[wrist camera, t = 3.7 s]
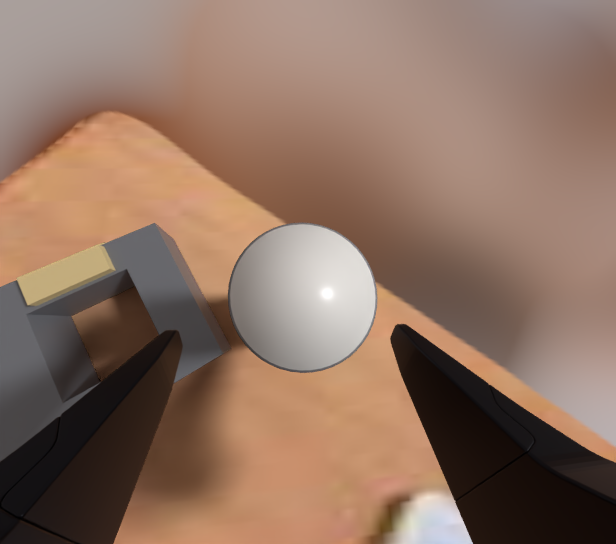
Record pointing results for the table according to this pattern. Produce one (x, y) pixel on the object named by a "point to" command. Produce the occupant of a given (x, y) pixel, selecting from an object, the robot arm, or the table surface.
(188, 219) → the table surface
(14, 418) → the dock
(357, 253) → the white dome-top cylinder
